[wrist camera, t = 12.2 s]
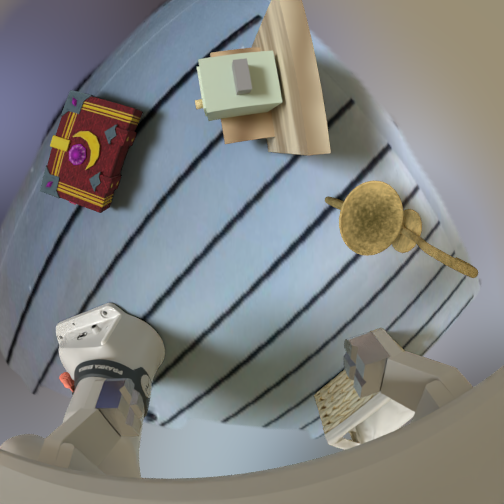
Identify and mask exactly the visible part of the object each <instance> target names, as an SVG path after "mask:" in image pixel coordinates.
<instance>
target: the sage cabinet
mask: <svg viewBox="0 0 504 504" xmlns="http://www.w3.org/2000/svg"><path fill="white" fill-rule="evenodd" d="M197 71H198V77H199V84H200V90H201V96H202V99H200V100H195V104H196V109H201V108H203V109H204V112H205V115H206V116H208V120H209V121H212V120H217V119H223V118H229V117H236V116H243V115H250V114H257V113H266V112H268V111H270V110H272V109H273V108H275V107H276V106H278V105H279V104H281V103H282V97H281V91H280V85H279V80H278V74H277V69H276V63H275V58H274V53H273V51H260V52H249V53H239V54H231V55H223V56H217V57H210V58H204V59H199V67H197Z"/></svg>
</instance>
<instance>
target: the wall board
mask: <svg viewBox="0 0 504 504" xmlns="http://www.w3.org/2000/svg"><path fill="white" fill-rule="evenodd" d="M260 51H273V53H274V58H275V63H276V69H277V74H278V80H279V85H280V91H281V97H282V103H281V104H279V105H278V106H276V107H275V108H273V109H272V110H270V111H268V112H266V113H257V114H250V115H243V116H236V117H229V118H223V119H221V123H222V129H223V135H224V141H225V144H229V143H235V142H241V141H247V140H254V139H261V138H266V139H267V145H268V152H277V153H289V154H299V155H317V154H327V153H331V150H330V142H329V134H328V127H327V120H326V113H325V107H324V101H323V95H322V89H321V83H320V78H319V73H318V67H317V62H316V58H315V53H314V48H313V44H312V39H311V35H310V31H309V26H308V22H307V18H306V14H305V10H304V7H303V3H302V0H271V3H270V5H269V7H268V9H267V12H266V14H265V16H264V19H263V21H262V23H261V26H260V28H259V31H258V33H257V35H256V38H255V40H254V43H253V45H252V48H245V49H236V50H228V51H220V52H214V53H210V56H211V57H217V56H223V55H231V54H239V53H249V52H260Z"/></svg>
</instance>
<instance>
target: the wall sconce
mask: <svg viewBox="0 0 504 504" xmlns="http://www.w3.org/2000/svg"><path fill="white" fill-rule="evenodd" d="M325 202H326V203H327V204H329V205H331V206H333V207H335V208H337V209H340V210H341V211H340V216H339V228H340V233H341V236H342V238H343V241H344V242H345V244H346V245H347V246H348V247H349V248H350V249H351V250H352V251H354V252H355V253H358V254H361V255H374V254H377V253H380V252H382V251H384V250H385V249H387V248H388V247H389V246H390V245H391V244H392V246H393V247H394V249H395V250H397V251H398V252H401V253H405V252H408V251H410V250H411V249H412V248H414V246H415V245H416V244H417V245H418V246H419V247H420V248H421V249H422V250H423V251H424V252H425V253H427V254H428V255H430V256H431V257H433V258H435V259H436V260H438V261H440V262H442V263H443V264H445V265H447V266H449V267H451V268H453V269H454V270H456V271H458V272H460V273H462V274H464V275H467V276H469V277H472V278H475V277H477V275H478V270H477V269H476V268H475V267H473V266H472V265H470V264H469V263H467V262H465V261H463V260H461V259H459V258H457V257H456V258H454V257H452V256H450V255H448V254H446V253H444V252H442V251H441V250H439V249H437V248H435V247H433V246H432V245H430V244H428V243H427V242H426V241H425V240H423V239H422V238H421V237H420V235H421V230H422V222H421V218H420V216H419V214H418V213H417V212H416V211H414V210H411V209H407V210H404V211H403V206H402V202H401V199H400V197H399V195H398V194H397V192H396V191H395V190H394V189H393V188H392V187H391V186H390V185H388V184H386V183H384V182H381V181H369V182H365V183H363V184H360V185H359V186H357V187H356V188H355V189H353V190H352V191H351V192H350V193H349V195H348V196H347V198H346V199H345V201H341V200H338V199H335V198H332V197H326V198H325Z"/></svg>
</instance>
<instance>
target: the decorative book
mask: <svg viewBox="0 0 504 504" xmlns="http://www.w3.org/2000/svg"><path fill="white" fill-rule="evenodd" d="M142 113H143V112H141V111H139V110H137V109H134V108H131V107H128V106H124V105H121V104H117V103H114V102H110V101H106V100H103V99H100V98H96V97H93V96H92V95H88V94H84V93H80V92H76V91H72V90H71V91H70V93H69V95H68V98H67V100H66V103H65V106H64V109H63V111H62V114H61V116H62V118H61V121H60V124H59V127H58V130H57V133H56V135H53V138H52V141H51V145H50V146H51V147H52V150H51V154H50V157H49V161H48V165H47V166H46V168H45V172H44V176H43V181H42V185H41V190H40V191H41V192H44V193H46V194H49V195H51V196H54V197H57V198H63V199H66V200H68V201H69V202H70V203H73V204H75V205H76V204H78V205H81V206H84V207H86V208H89V209H91V210H94V211H97V212H99V213H101V212H103V211H105V210H106V209H108V208H109V207H110V204H111V201H112V198H113V194H114V191H115V190H116V189H117V188H118V185H119V182H120V179H121V176H122V175H120V172H121V169H122V166H123V163H124V160H125V157H126V154H127V152H128V149H129V146H132V145H133V142H134V139H135V137H136V134H137V132H135V130H136V128H137V125H138V123H139V120H140V118H141V116H142Z"/></svg>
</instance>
